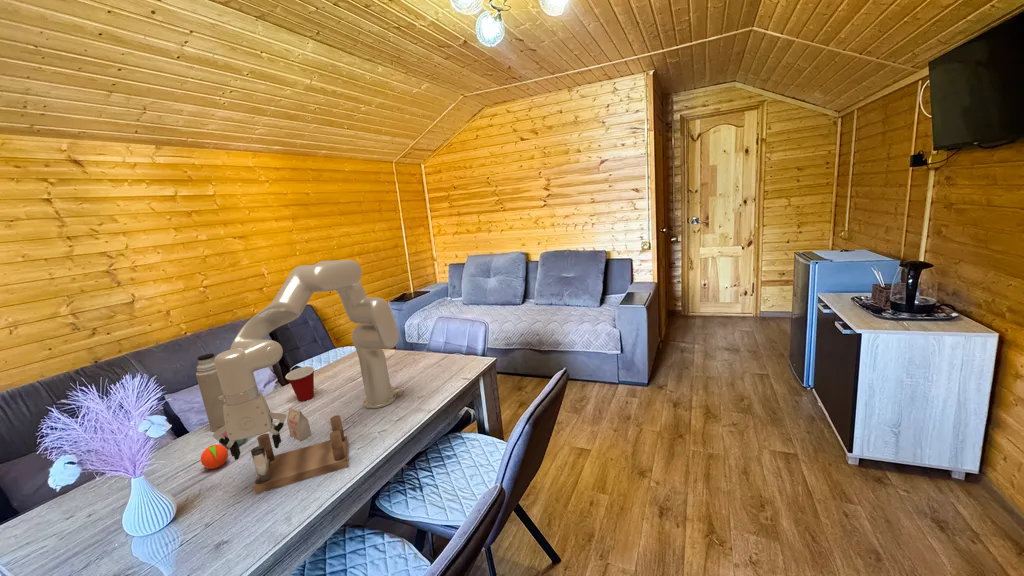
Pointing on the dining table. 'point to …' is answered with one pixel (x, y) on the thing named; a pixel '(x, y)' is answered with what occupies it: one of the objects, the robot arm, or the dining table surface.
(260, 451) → the stool leg
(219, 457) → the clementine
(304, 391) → the plastic cup
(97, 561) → the dining table surface
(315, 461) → the stool seat
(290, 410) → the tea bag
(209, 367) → the thermos bottle
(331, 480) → the dining table surface
